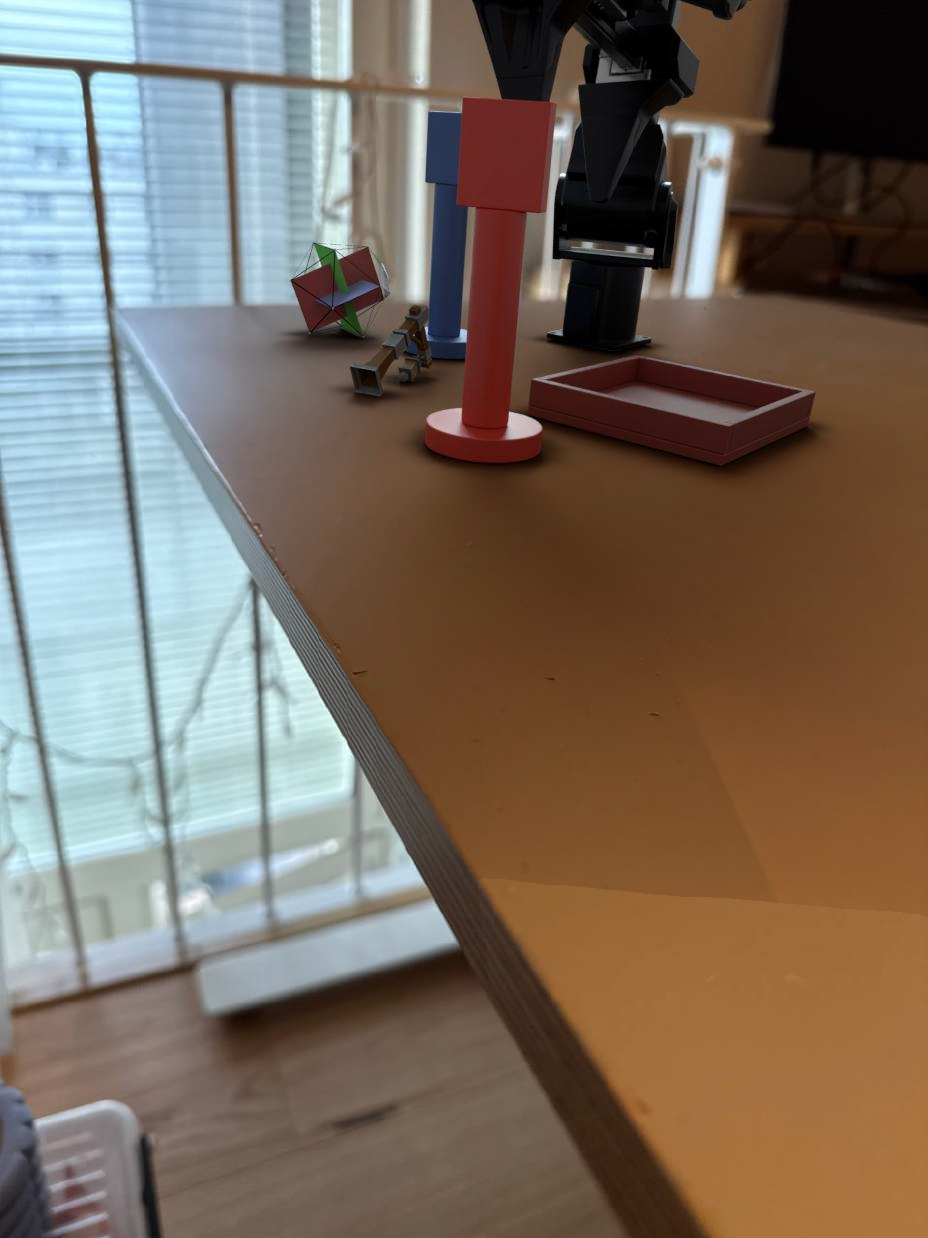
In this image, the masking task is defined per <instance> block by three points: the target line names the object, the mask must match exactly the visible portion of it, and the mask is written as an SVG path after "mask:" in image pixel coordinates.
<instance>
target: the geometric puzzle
mask: <svg viewBox="0 0 928 1238" xmlns="http://www.w3.org/2000/svg"><path fill="white" fill-rule="evenodd" d="M331 245H334V246H340V244H338V243H337V244H336V243H331ZM346 246H348V247H347V248H345V250H350V249H351V250H353V249H354V245H351V244H346ZM349 247H350V248H349ZM313 248H315V251H316V254H317V257H318V260H317V261H316V262H314V263H313V264H312V265H310V266H309V262H310V259H311V256H312V251H313ZM356 249H359V250H357V251H355V252H352V253H350V254H347V255H345V256H344V255H343V254H342V253H340V252H339V251H341V250H343V248H337V249H336V248H331V247H328V246H325V243H323V242H315V241H312V244H311V246H310V248H309V249H308V251H310V253H309V256H308V259H307V263H306V268H305V270H303V271H302V272H300V273H299V274H297V275H295V274H296V272H297V271H295V272H294V274H293V275H292V277H291V278H289V282H290V283H291V285H292V288H293V291H294V294H295V297H296V299H297V302H298V305H299V308H300V310H301V313H302V316H303V318H304V322H305V323H306V327H307V329H308V334H309V335H311V334H314V335H315V334H317V335H321V333H319V332H325V331H330V330H334V329H340V328H344V329H345V330H348V331H350V332H352V333H354V334H356V335H357V336H358V337H359V338H360V337H361V338H365V337H366V336H365V335H366V334H367V332H368V330H369V328H368V327H369V326H371V324H372V322H373V321H374V318H375V317H373V318H372V321H371V317H372V315H373V311H374V309H375V306H376V305H378V304H383V302H384V301H385V300H386V298H388V297H389V296H390V295H391V290H390V289H391V288H390V285H389V283H388V282H390V277H389V273H388V272H387V268H386V267H385V264H383V263H382V262H381V260H380V259H379V258H378V257H377V255H376V254H375V253H374V252H373V251H372V250H371V248H370V246H369V245H366V246H365V245H360V246H356ZM337 253H338V254H339V255H340V256H341V257H340V258H338V254H337ZM307 254H308V253H306V254H305V256H304V257H303V259H302V261H301V263H300V264H299V266H298V267H297V269H299V268H300V266H301V265H302V262H303V261H304V259H305V258H306V256H307ZM371 254H372V255H373V256H372V255H371ZM373 257H374V259H375V261H376V262H377V263H378V265H379V268H380V279H379V275H378V273H377V270H376V267H375V264H374V261H373ZM318 263H320V266H319V267H318V268H315V269H313V270H311V271H308V272H307V270H309V269H310V268H312V267H313V266H315V265H317V264H318ZM308 266H309V267H308ZM303 273H304V274H303ZM387 281H388V282H387ZM366 308H367V309H366ZM380 308H381V306H379V308H378V309H377V311H376V313H375V315H377V313H378V312H379V309H380ZM364 309H366V310H364ZM371 309H372V311H371V312H370V317H369V319H368V322H367V325H366V327H365V330H364V333H363V329H362V327H361V324H360V321H359V318H358V317H360V316H361V315H363V314H364V313H366V312H367V311H369V310H371ZM362 310H364V311H363V312H361V313H359V314H357V312H359V311H362ZM338 321H339V322H338ZM370 321H371V322H370ZM334 323H336V324H337V325H339V326H334V327H329V328H324V327H327V326H329V325H332V324H334ZM369 324H370V325H369ZM323 328H324V329H323ZM327 335H331V336H336V334H334V333H333V334H331V333H327ZM342 336H346V337H351V335H349V334H342Z"/></svg>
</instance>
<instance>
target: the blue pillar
mask: <svg viewBox="0 0 928 1238" xmlns="http://www.w3.org/2000/svg"><path fill="white" fill-rule="evenodd" d="M461 119H462V112H457V111H439V110H428V111H427V127H426V128H427V129H426V151H425V152H426V154H425V155H426V156H425V177H424V182H425V183H426V184H434V191H433V211H432V213H433V214H432V233H431V252H430V253H431V254H430V274H429V276H430V278H429V296H428V298H429V300H428V308H429V313H428V314H429V319H430V320H428V321H427V326H425V331H426V336H427V342H428V346H430V349H431V354H432V355H431V356H430V357H431V359H439V360H440V359H441V360H465V355H466V340H467V329H463V328H461V327H462V310H463V298H464V297H463V295H464V282H465V281H464V280H465V279H464V278H465V267H466V266H465V265H466V264H465V263H466V251H467V250H466V248H467V235H468V233H467V232H468V216H469V215H468V213H469V207H465V206H457V189H458V171H459V154H460V137H461ZM414 336H415V335H414ZM410 343H411V344H410V345H409V347H407V346H406V350H405V351H404V352H407V353H409V354H411V355H415V356H417V353H416V349H417V345H416V343H414V342H413V341H412V340H411V339H410Z"/></svg>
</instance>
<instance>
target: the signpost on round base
mask: <svg viewBox="0 0 928 1238" xmlns="http://www.w3.org/2000/svg"><path fill="white" fill-rule="evenodd" d="M461 103H462V104H461V105H462V106H461V107H462V108H461V113H462V119H461V137H460V154H459V171H458V189H457V206H465V207H468V208H475V209H474V218H473V219H474V220H473V234H472V236H473V237H472V248H471V249H472V250H471V265H470V266H471V268H470V279H469V280H470V281H469V295H468V297H469V298H468V311H467V326H466V330H467V340H466V355H465V359H464V372H463V385H462V401H461V402H462V403H461V407H457V408H455V407H454V408H447V409H442V410H439V411H435V412H432V413H430V414H429V415H428V416H427V417H426V419H425V426H424V427H425V428H424V429H425V430H424V443H425V445H426V447H427V448H428V449H430V451H432V452H434V453H436V454H439V455H441V456H444V457H448V458H450V459H453V460H459V461H464V462H472V463H479V464H481V463H482V464H511V463H518V462H523V461H527V460H530V459H532V458H535V457H537V456H538V455H539V454H540V453H541V451H542V444H543V433H544V428H543V425H542V424H541V423H540V421H537V420H536V419H534V418H532V417H531V416H527V415H524V414H522V413H521V414H520V413H517V412H513V411H510V407H511V397H512V396H511V395H512V384H513V373H514V364H515V354H516V353H515V351H516V341H517V331H518V330H517V329H518V317H519V309H520V308H519V307H520V297H521V285H522V274H523V262H524V253H525V241H526V240H525V239H526V229H527V227H526V226H527V217H528V213H529V214H530V213H531V214H544V213H546V212H547V206H548V197H549V195H548V194H549V187H550V175H551V165H552V157H553V145H554V137H555V136H554V135H555V126H556V114H557V103H556V102H555V103H554V102H543V101H526V100H510V99H501V98H494V97H493V98H491V97H475V96H463V97H462V102H461Z"/></svg>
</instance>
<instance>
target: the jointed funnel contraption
mask: <svg viewBox="0 0 928 1238" xmlns="http://www.w3.org/2000/svg"><path fill="white" fill-rule="evenodd" d="M404 319H405V320H404V321H403V322H402V323H401V325H400V326H399V327H398V328H395V327H394V328H393V330H392V333H389V335H388V337H387V338H386V339H385V341H383V342H382V343H381V348H380V349H379V350H378V352H377V353H376V354H374V355H373V356H372V357H371V358H370V359H368V360H367V361H366V362H365V363H364V364H358V363H355V362H354V363H352V365H349V366H348V367H349V370H350V374H351V378H352V383H353V387H354V391H355V392H356V393H361V394H366V395H371V396H377V397H382V394H383V393H384V387H383V384H382V380H383V379H384V377H385V375H386V373H387V372H388V370H389V368H390V366H391V365H392V364H393V362H394V361H395V360H396V361H398V360H399V359H400V356H402V354H403V353H404V352H406V351H405V350H406V346H407V347H409V345H410V344H411V343H410V339H411V340H412V341H413V342H414V343H416V345H417V349H416V353H417V355H415V356H414V355H412V357H409V356H405V357H404V362H403V364H401V365H400V366H397V369H398V379H399V381H400V382H403V383H405V382H412V383H414V379H415V377H416V376H417V375H418V374H422V373H423V371H422V368H424V369H430V368H431V366H432V365H433V362H432V358H431V357H430V356H431V355H432V354H431V349H430V346H428V342H427V336H426V331H425V327H426V326H425V325H426V323H428V320H430V319H429V305H427V304H425V303H423V304H422V303H421V304H413V305H411V306H410V307H409V309H408V313H407V314H405V315H404ZM414 335H415V336H414Z"/></svg>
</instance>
